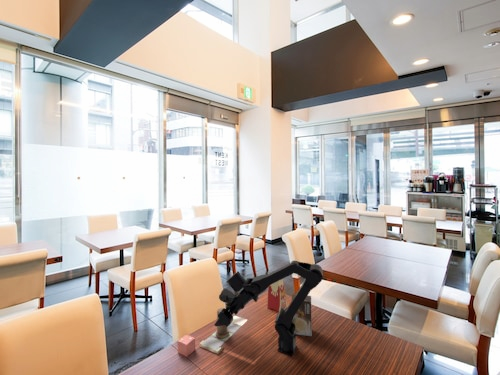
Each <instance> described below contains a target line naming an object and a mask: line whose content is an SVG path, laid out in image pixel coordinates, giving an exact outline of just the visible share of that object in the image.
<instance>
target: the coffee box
mask: <svg viewBox="0 0 500 375" xmlns="http://www.w3.org/2000/svg"><path fill="white" fill-rule="evenodd" d="M295 295H296V293H292V294H291V301H292V299H293V298H294V296H295ZM291 301H290V302H291ZM292 322H293V323H294V325H295V332H294V334H295V335H297V336H298V335H299V336H305V337H306V336H307V337H312V334H313V332H312V331H313V330H312V329H313V328H312V296H311V295H307V297H306V299H305V300H304V302H303V303H302V305H301V306H300V308H299V309H298V311H297V312H296V314H295V316H294V317H293V320H292Z"/></svg>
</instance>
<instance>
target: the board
mask: <svg viewBox="0 0 500 375" xmlns="http://www.w3.org/2000/svg"><path fill="white" fill-rule="evenodd" d="M232 316H233V321H232V323H231V324H230V325H229V326H228V327H227V330H228V331H229V336H228V337H227V338H224V339H219V338H217V337H216V331H214V332H213V333H212V334H211V335H210V336H209V337H208V338H206V339H203V340H202V341H200V342H199V345H198V346H199V347H200V348H202V349H205V350H207V351H208V352H209V351H210V352H212V353H214V354H217V355H219V354H220V353H221V352H222V351H223V350H224V349H225V347H222V345H223V344H225V342H226V341H227V340H229V339H230V338H231V336H233V335H234V334H235V333H237V331H238V330H239V329H240V328H241V327H242V326H243V325H244V324H246V323H247V322H248V319H247V318H243V317H241V316H237V315H232Z"/></svg>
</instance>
